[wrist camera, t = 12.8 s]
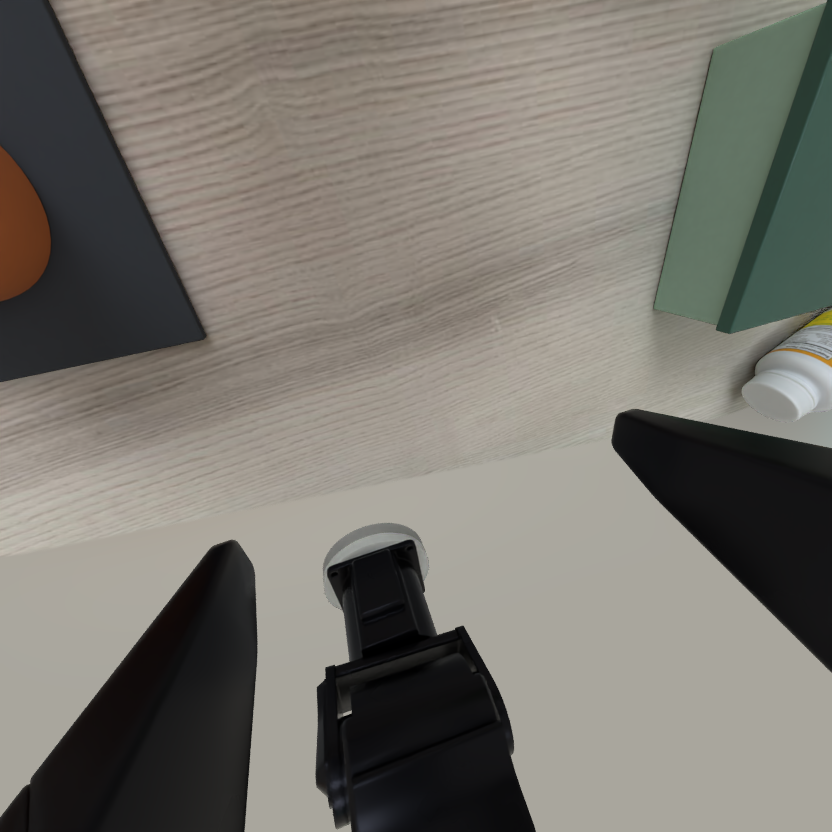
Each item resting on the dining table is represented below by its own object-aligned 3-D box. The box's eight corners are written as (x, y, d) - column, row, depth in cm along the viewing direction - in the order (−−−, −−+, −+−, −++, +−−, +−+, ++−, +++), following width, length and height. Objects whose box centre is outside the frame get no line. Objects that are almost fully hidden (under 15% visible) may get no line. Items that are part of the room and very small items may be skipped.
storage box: (762, 284, 24) (859, 298, 20) (649, 312, 22) (729, 334, 18) (860, 28, 17) (1036, -31, 13) (711, 41, 16) (858, -21, 12)
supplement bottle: (931, 356, 25) (805, 443, 26) (833, 329, 29) (728, 405, 30) (967, 295, 21) (820, 400, 22) (850, 275, 26) (731, 363, 27)
